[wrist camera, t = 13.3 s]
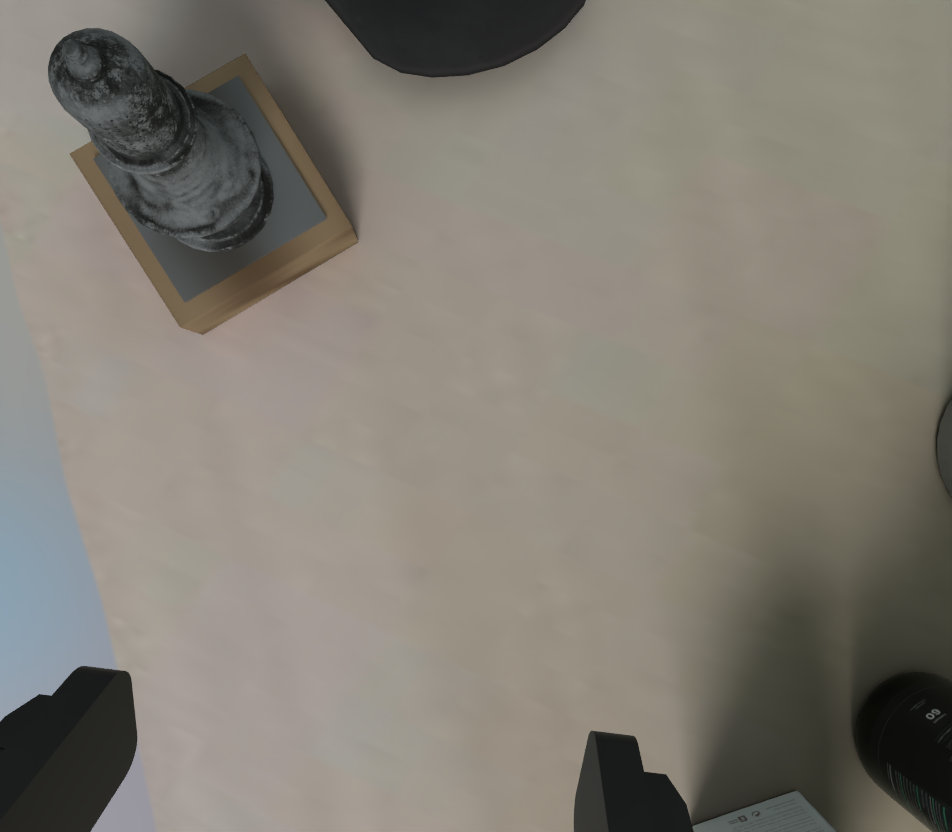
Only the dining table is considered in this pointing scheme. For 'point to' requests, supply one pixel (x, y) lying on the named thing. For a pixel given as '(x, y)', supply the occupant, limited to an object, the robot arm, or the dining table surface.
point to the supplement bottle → (911, 745)
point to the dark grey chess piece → (164, 143)
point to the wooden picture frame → (271, 251)
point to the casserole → (453, 31)
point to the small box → (771, 817)
